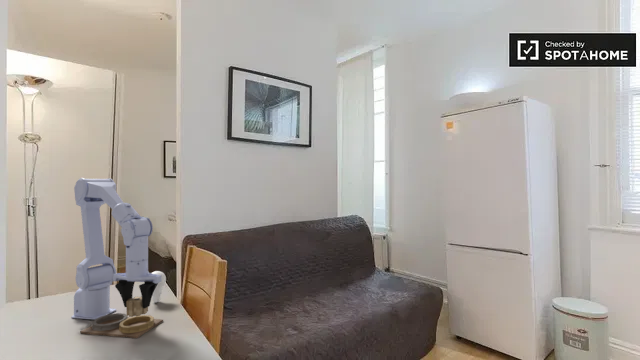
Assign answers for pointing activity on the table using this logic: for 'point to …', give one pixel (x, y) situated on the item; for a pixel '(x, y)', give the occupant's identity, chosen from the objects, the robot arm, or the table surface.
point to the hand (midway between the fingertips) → (137, 306)
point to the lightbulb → (158, 287)
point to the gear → (135, 307)
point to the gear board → (116, 331)
